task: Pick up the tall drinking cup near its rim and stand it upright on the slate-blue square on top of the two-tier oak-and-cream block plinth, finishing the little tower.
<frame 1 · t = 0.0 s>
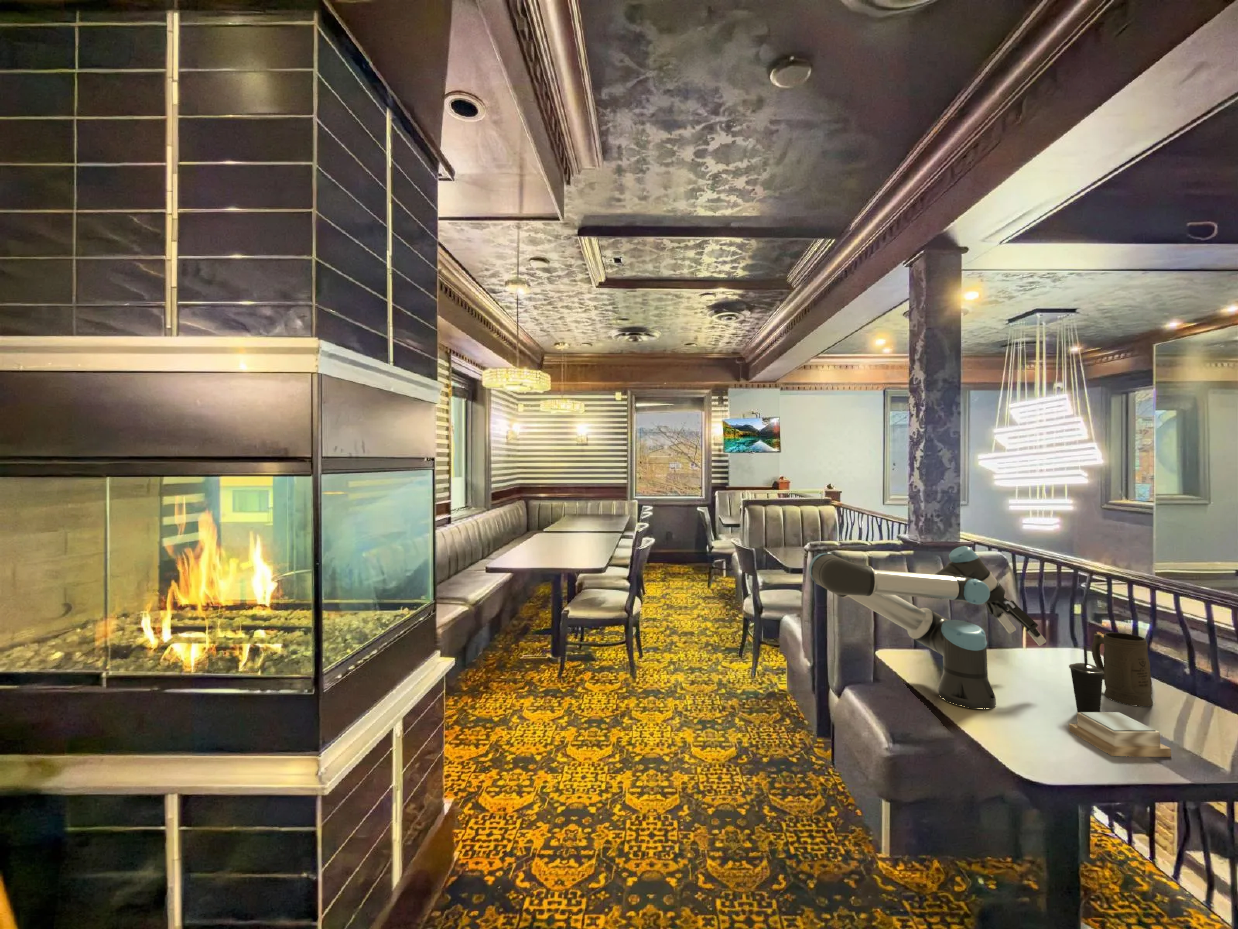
hand: (1027, 637, 175), 15 cm above the table, tool tilted 35°, fingers open, 13 cm apart
drinking cup: (1088, 716, 150), on the table
beer stein: (1119, 697, 162), on the table
plinth: (1117, 743, 134), on the table
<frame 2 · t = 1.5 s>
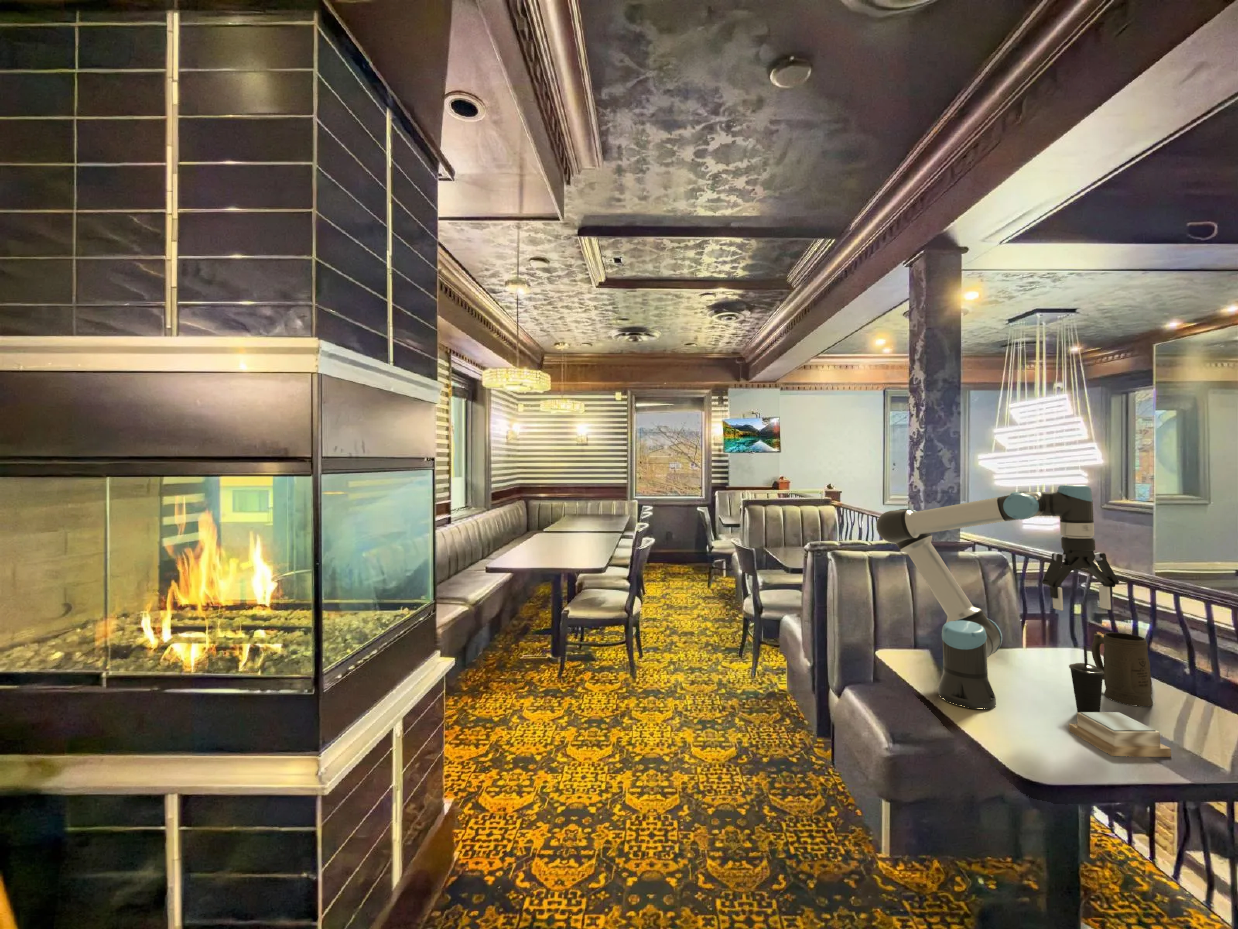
hand: (1081, 609, 152), 31 cm above the table, tool pointing down, fingers open, 13 cm apart
nothing on the table moved.
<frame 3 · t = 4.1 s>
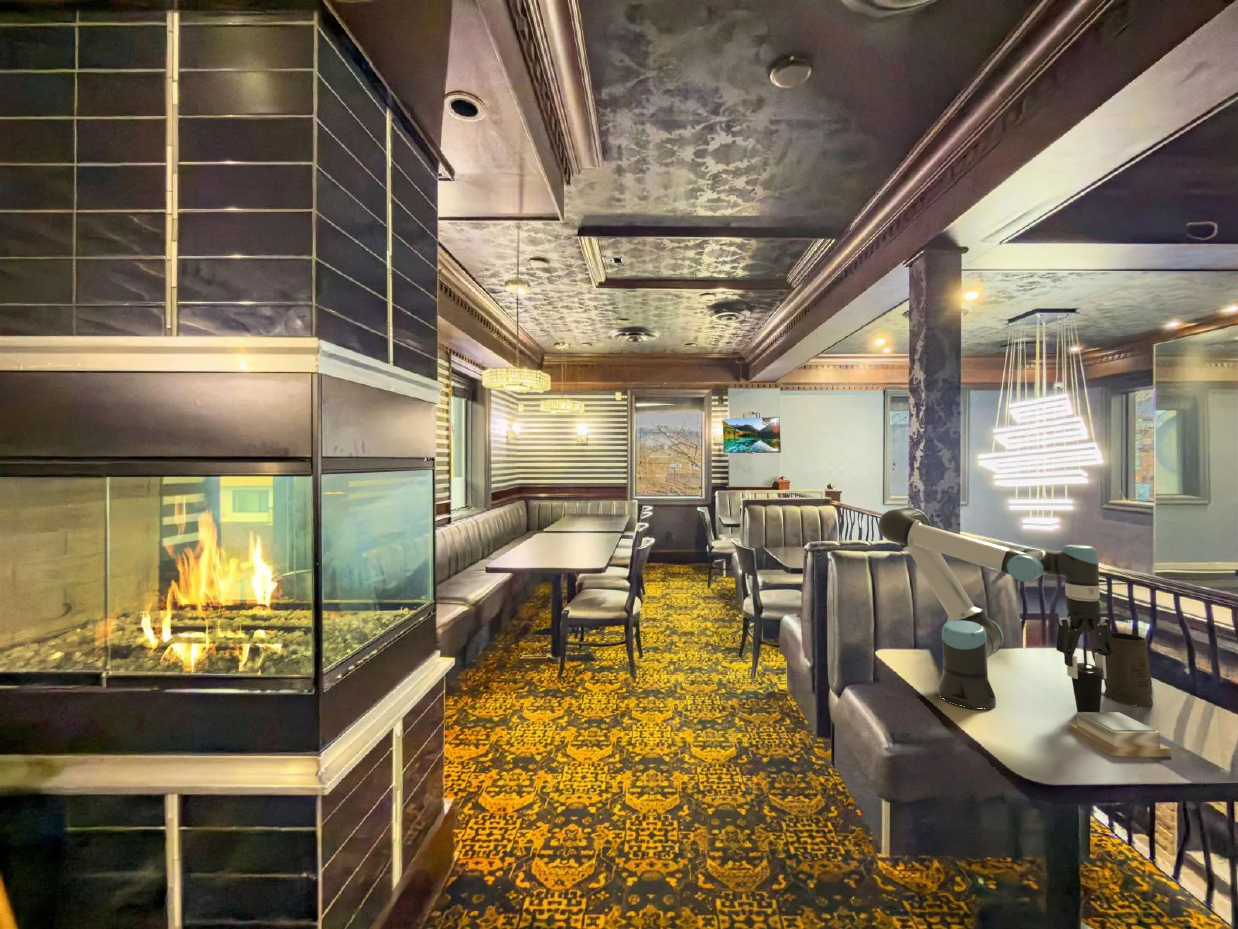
hand: (1086, 677, 150), 11 cm above the table, tool pointing down, fingers closed on drinking cup, 7 cm apart
drinking cup: (1088, 716, 150), on the table, touching gripper
everything else where it was.
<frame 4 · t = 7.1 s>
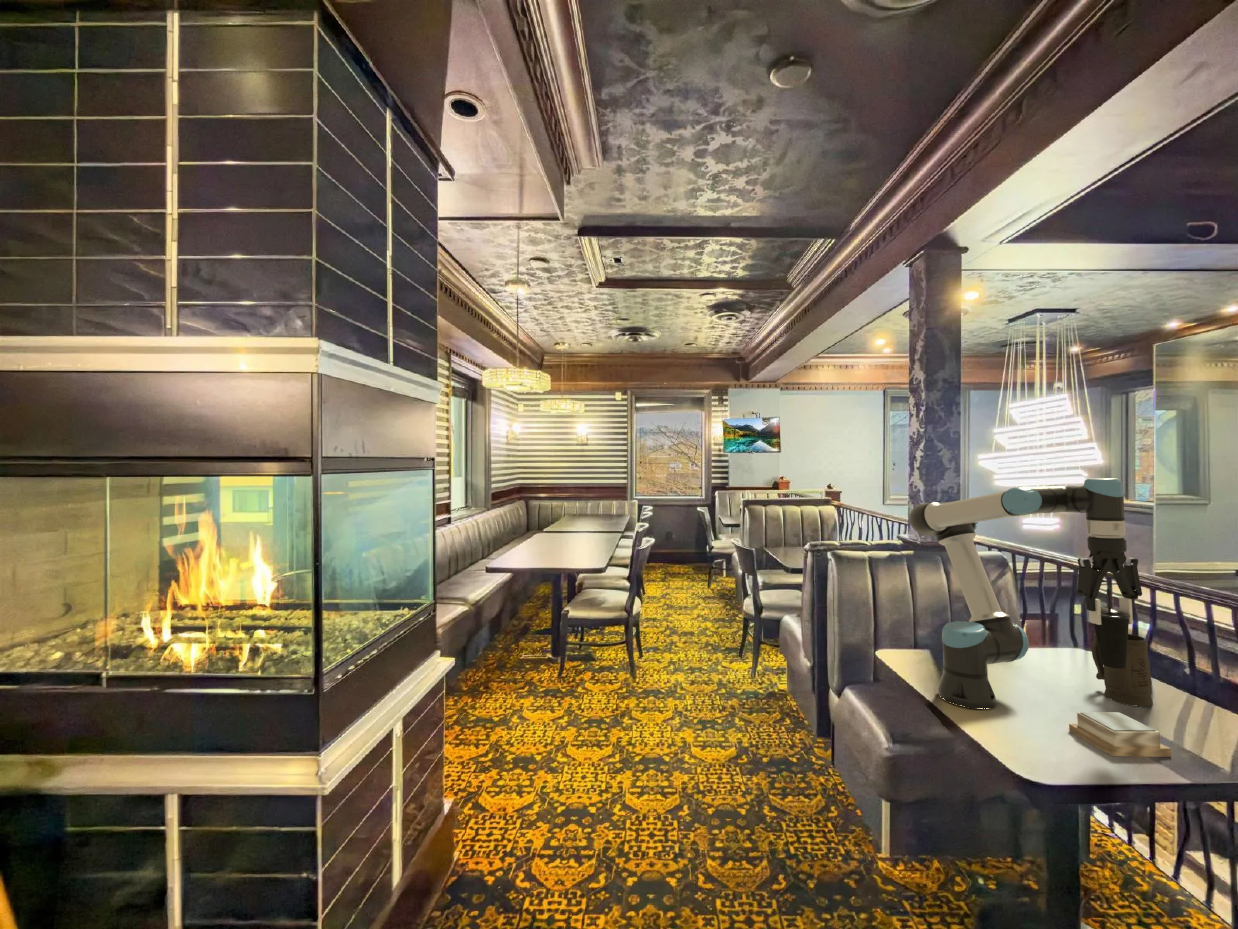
hand: (1111, 623, 136), 31 cm above the table, tool pointing down, fingers closed on drinking cup, 7 cm apart
drinking cup: (1113, 666, 135), point 20 cm above the table, touching gripper
everything else where it was.
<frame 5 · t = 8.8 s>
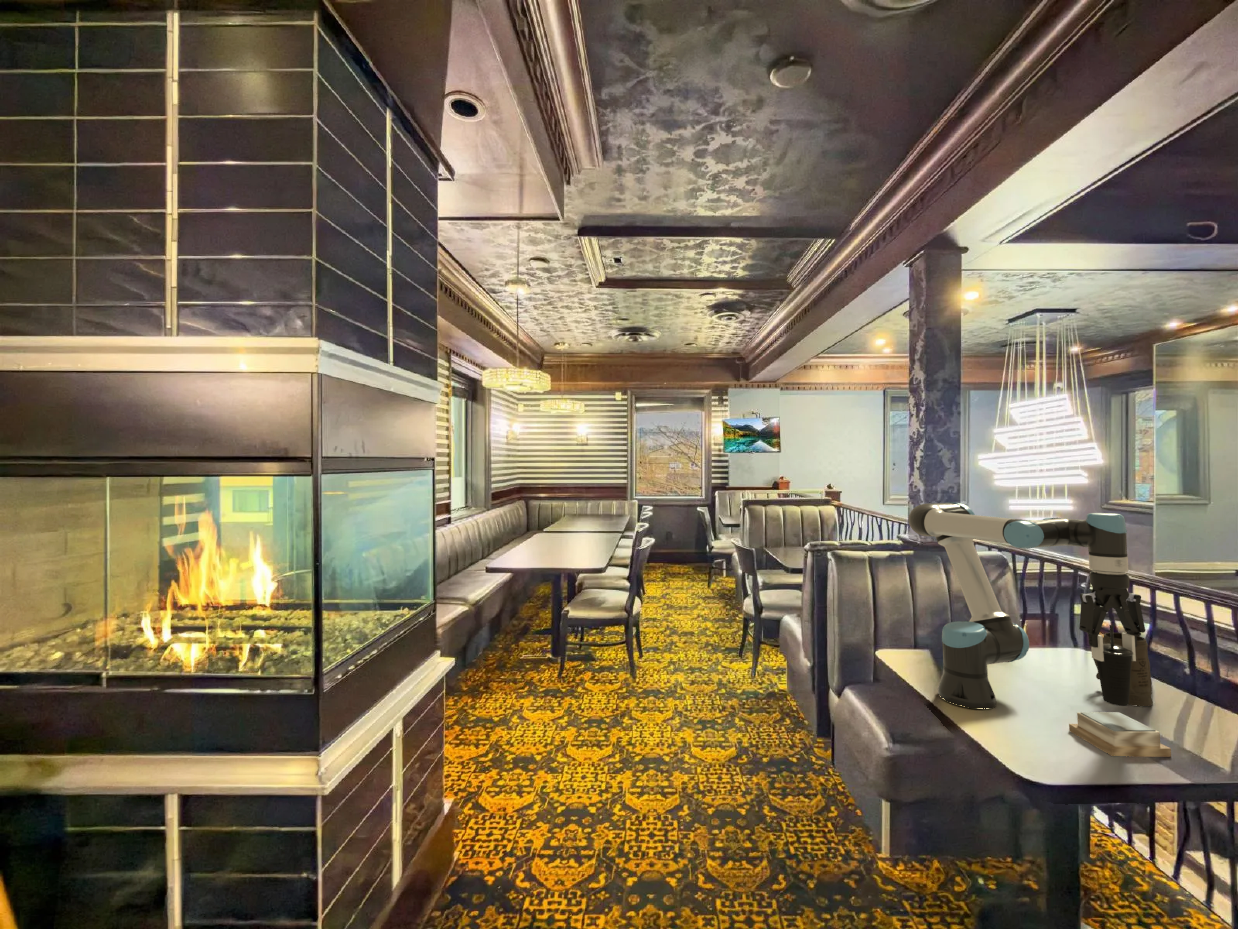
hand: (1113, 659, 135), 22 cm above the table, tool pointing down, fingers closed on drinking cup, 7 cm apart
drinking cup: (1116, 702, 135), point 11 cm above the table, touching gripper
everything else where it was.
when the fingers open (18 cm above the table, at t = 10.3 s): drinking cup drops 1 cm, resting on plinth.
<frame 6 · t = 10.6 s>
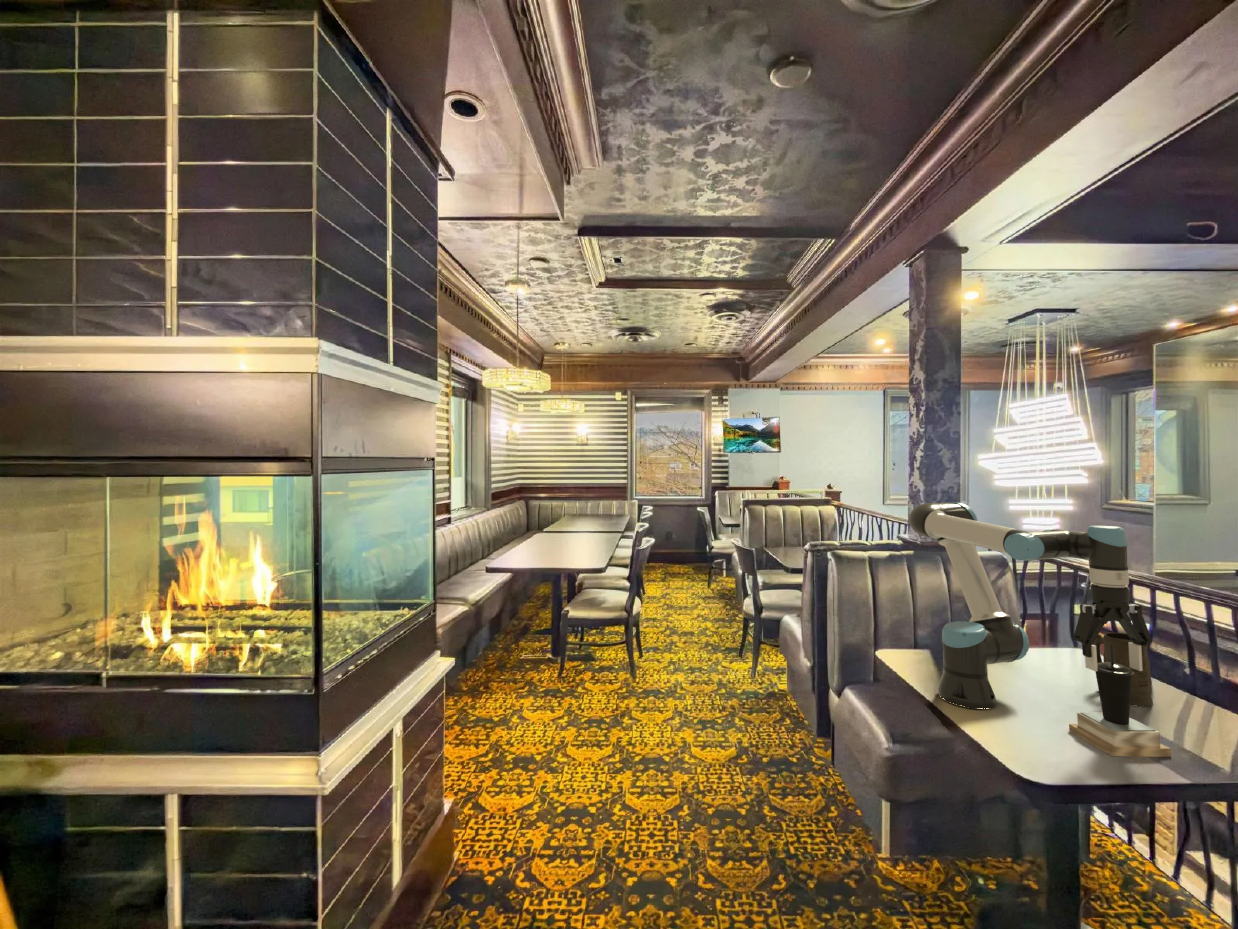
hand: (1113, 669, 135), 19 cm above the table, tool pointing down, fingers open, 10 cm apart
drinking cup: (1116, 721, 135), point 6 cm above the table, touching plinth
everything else where it was.
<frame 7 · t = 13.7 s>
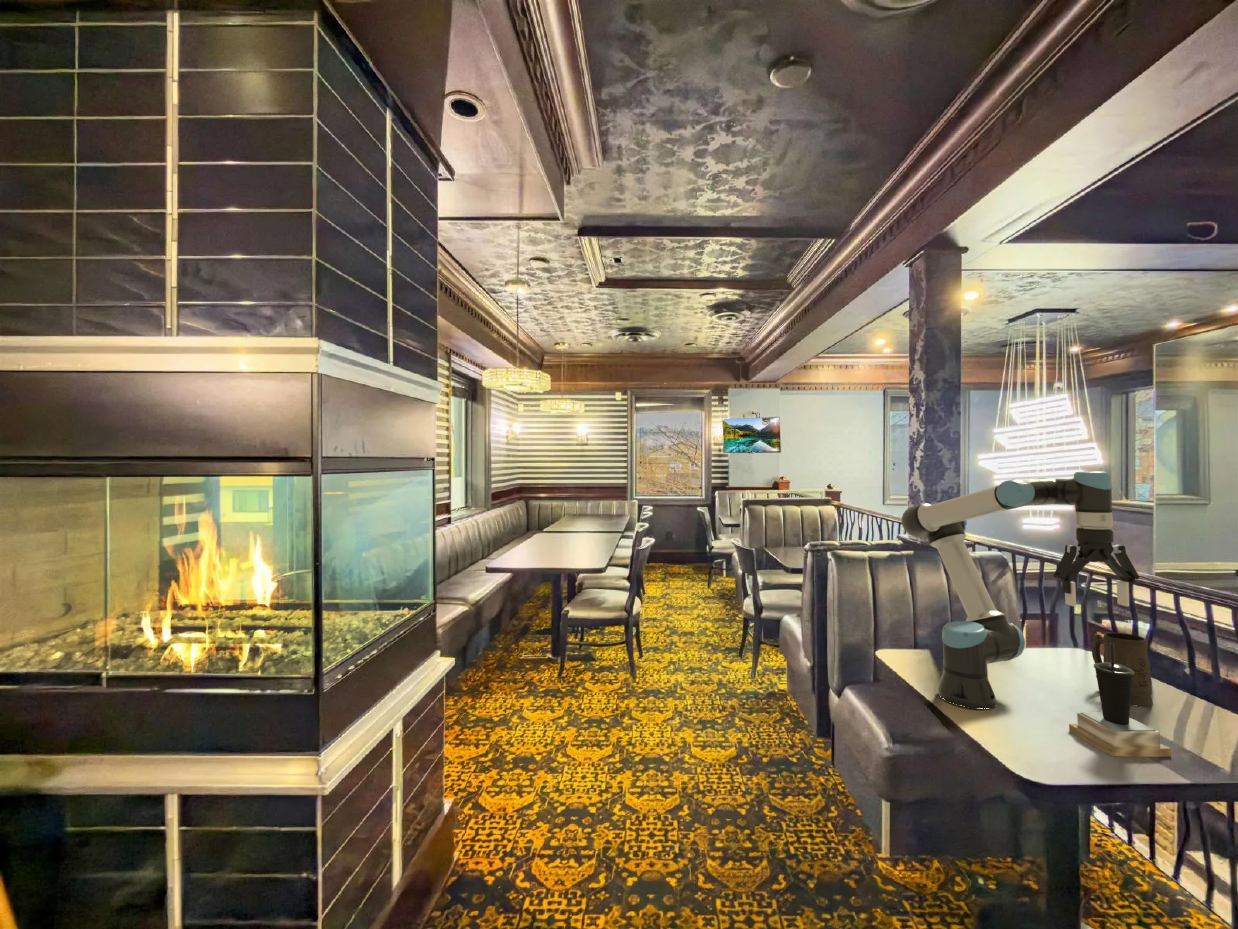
hand: (1096, 605, 140), 35 cm above the table, tool pointing down, fingers open, 13 cm apart
nothing on the table moved.
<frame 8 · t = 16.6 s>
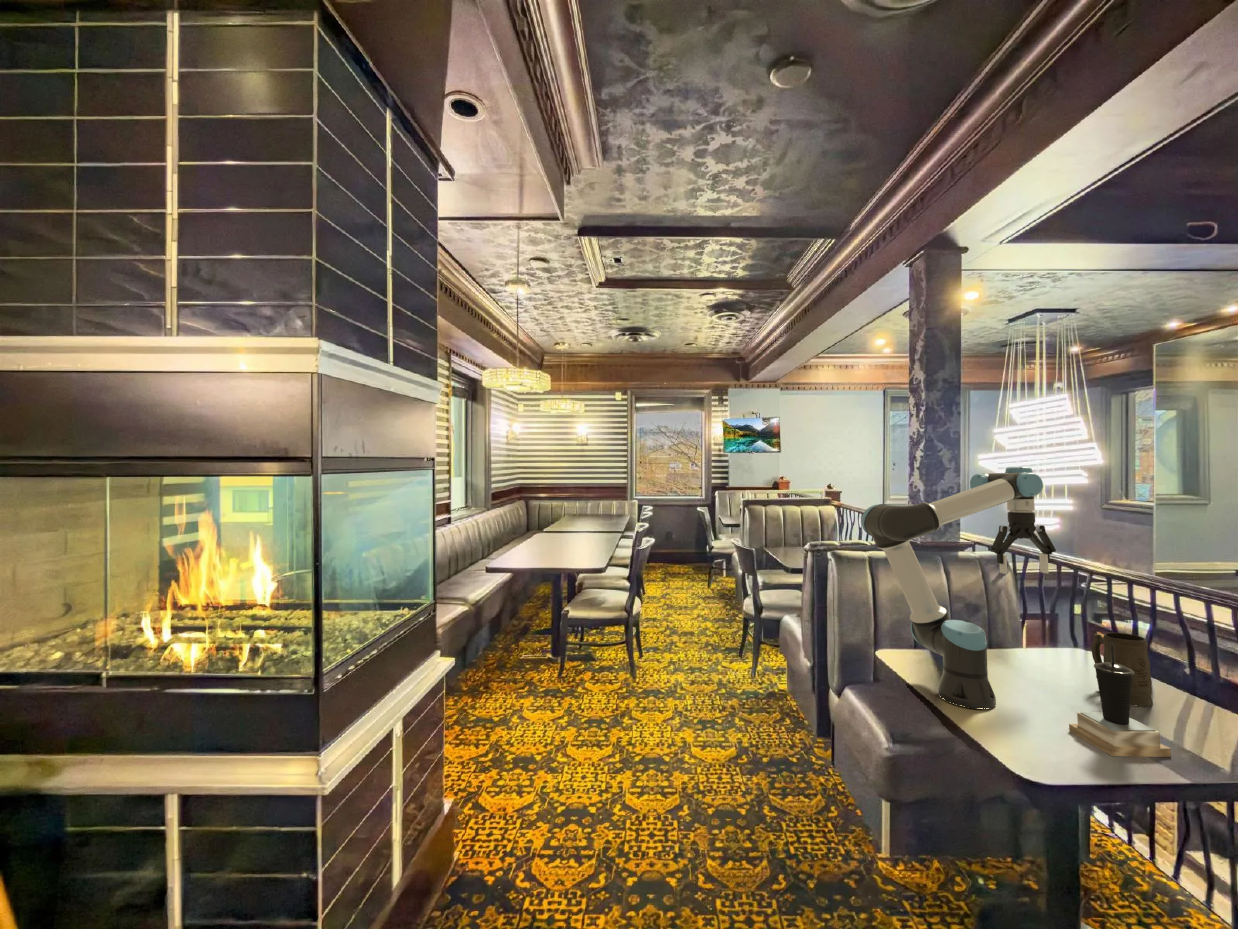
hand: (1023, 573, 177), 37 cm above the table, tool pointing down, fingers open, 13 cm apart
nothing on the table moved.
at the end: drinking cup 0.1 cm off-centre on the plinth, point 5.6 cm above the plinth's base; drinking cup tilted 0°; the gripper is holding nothing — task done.
